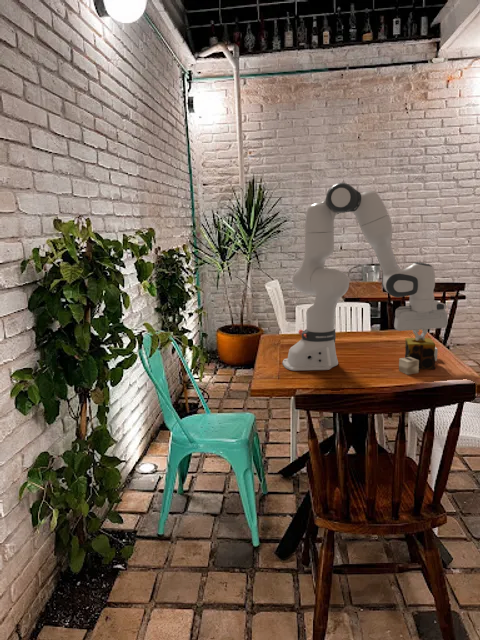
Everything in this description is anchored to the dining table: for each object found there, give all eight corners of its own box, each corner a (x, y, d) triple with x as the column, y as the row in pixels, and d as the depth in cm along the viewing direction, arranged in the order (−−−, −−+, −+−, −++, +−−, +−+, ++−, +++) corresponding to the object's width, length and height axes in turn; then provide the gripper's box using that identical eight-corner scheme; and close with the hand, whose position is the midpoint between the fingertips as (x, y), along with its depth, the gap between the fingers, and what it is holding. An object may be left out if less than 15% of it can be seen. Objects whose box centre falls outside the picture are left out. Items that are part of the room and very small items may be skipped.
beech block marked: (407, 374, 177) (407, 361, 176) (398, 371, 181) (399, 357, 180) (418, 373, 178) (418, 359, 177) (409, 369, 183) (410, 356, 182)
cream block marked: (424, 360, 192) (424, 348, 191) (421, 357, 197) (421, 345, 196) (437, 360, 192) (437, 348, 191) (433, 357, 197) (434, 345, 196)
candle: (435, 369, 181) (436, 344, 179) (407, 369, 183) (408, 344, 181) (430, 362, 191) (431, 337, 189) (404, 361, 193) (405, 337, 191)
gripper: (399, 308, 177) (398, 343, 180) (450, 304, 180) (448, 340, 183) (391, 305, 184) (390, 340, 186) (441, 302, 186) (439, 336, 189)
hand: (419, 340), depth 185 cm, fingers closed
